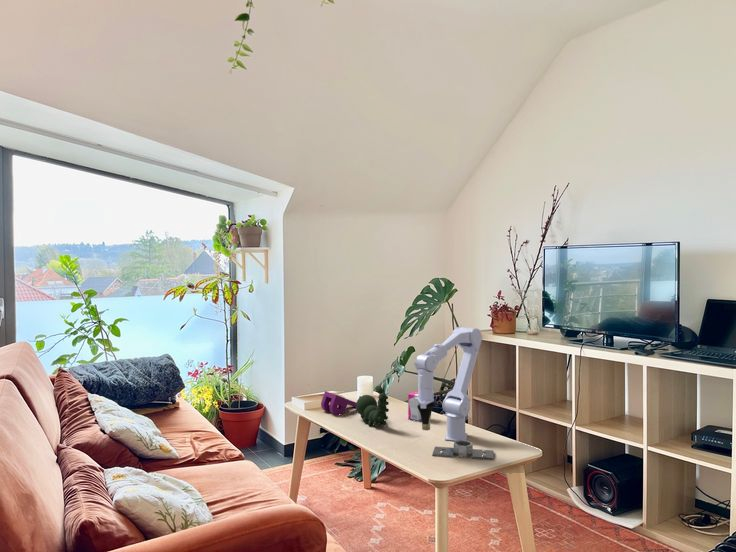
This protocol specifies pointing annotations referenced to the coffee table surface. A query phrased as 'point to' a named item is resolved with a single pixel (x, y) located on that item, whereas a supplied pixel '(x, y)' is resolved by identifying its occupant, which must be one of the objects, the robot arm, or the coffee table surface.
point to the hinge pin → (426, 426)
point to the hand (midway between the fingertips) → (426, 422)
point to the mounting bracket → (335, 403)
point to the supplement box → (413, 407)
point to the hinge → (463, 451)
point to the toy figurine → (373, 408)
